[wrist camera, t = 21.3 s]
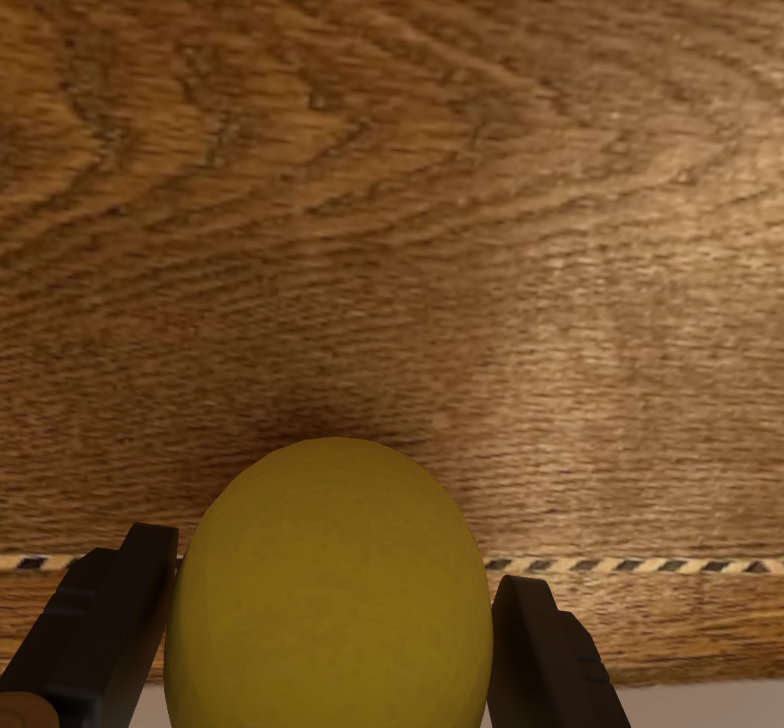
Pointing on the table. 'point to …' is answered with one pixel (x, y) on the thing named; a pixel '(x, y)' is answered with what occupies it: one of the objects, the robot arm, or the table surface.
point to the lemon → (330, 599)
